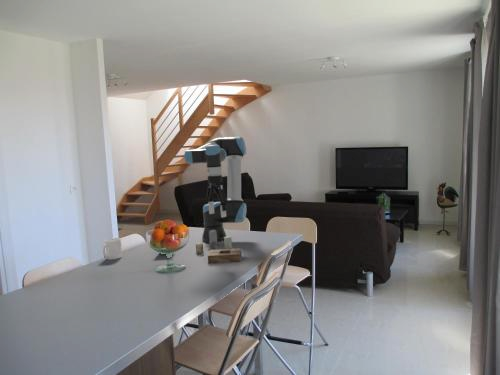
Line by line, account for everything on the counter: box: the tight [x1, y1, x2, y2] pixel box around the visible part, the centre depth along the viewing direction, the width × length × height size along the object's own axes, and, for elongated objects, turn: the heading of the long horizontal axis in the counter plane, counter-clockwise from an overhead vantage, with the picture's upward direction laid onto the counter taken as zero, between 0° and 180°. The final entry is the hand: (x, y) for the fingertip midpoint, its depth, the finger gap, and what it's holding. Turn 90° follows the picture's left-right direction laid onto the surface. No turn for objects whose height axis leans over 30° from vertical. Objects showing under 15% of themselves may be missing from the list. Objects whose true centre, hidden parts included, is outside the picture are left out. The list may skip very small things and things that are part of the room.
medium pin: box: [223, 236, 233, 249], centre depth 225 cm, size 4×4×8 cm
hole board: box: [207, 248, 243, 265], centre depth 209 cm, size 12×16×4 cm
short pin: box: [195, 242, 205, 255], centre depth 226 cm, size 4×4×5 cm
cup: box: [102, 237, 123, 261], centre depth 224 cm, size 8×12×10 cm
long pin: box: [209, 230, 218, 252], centre depth 225 cm, size 4×4×12 cm
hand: (217, 215), depth 215 cm, fingers open, 13 cm apart
